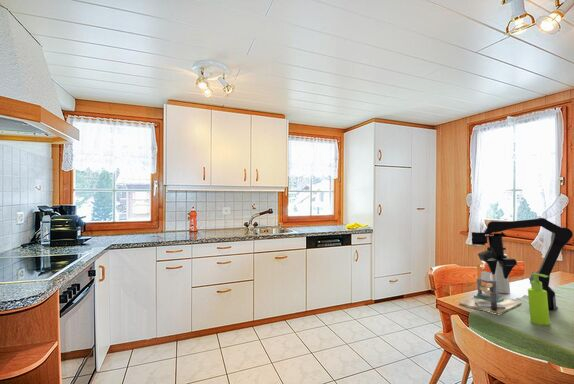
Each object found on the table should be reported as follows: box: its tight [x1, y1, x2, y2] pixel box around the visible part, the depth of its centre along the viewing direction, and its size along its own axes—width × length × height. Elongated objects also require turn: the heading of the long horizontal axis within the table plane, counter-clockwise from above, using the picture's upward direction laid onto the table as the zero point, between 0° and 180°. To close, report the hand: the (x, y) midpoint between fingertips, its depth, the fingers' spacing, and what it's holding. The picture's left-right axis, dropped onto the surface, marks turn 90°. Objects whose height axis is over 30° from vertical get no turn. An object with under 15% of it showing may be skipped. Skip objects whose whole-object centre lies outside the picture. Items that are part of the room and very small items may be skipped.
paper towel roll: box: [492, 253, 511, 294], centre depth 155 cm, size 7×6×21 cm
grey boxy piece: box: [476, 270, 501, 300], centre depth 141 cm, size 4×8×12 cm, turn 31°
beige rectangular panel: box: [458, 293, 523, 315], centre depth 135 cm, size 17×24×2 cm
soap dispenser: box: [527, 272, 551, 326], centre depth 113 cm, size 6×7×20 cm
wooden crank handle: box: [480, 283, 497, 311], centre depth 135 cm, size 6×23×7 cm, turn 145°
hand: (499, 276), depth 139 cm, fingers open, 9 cm apart
